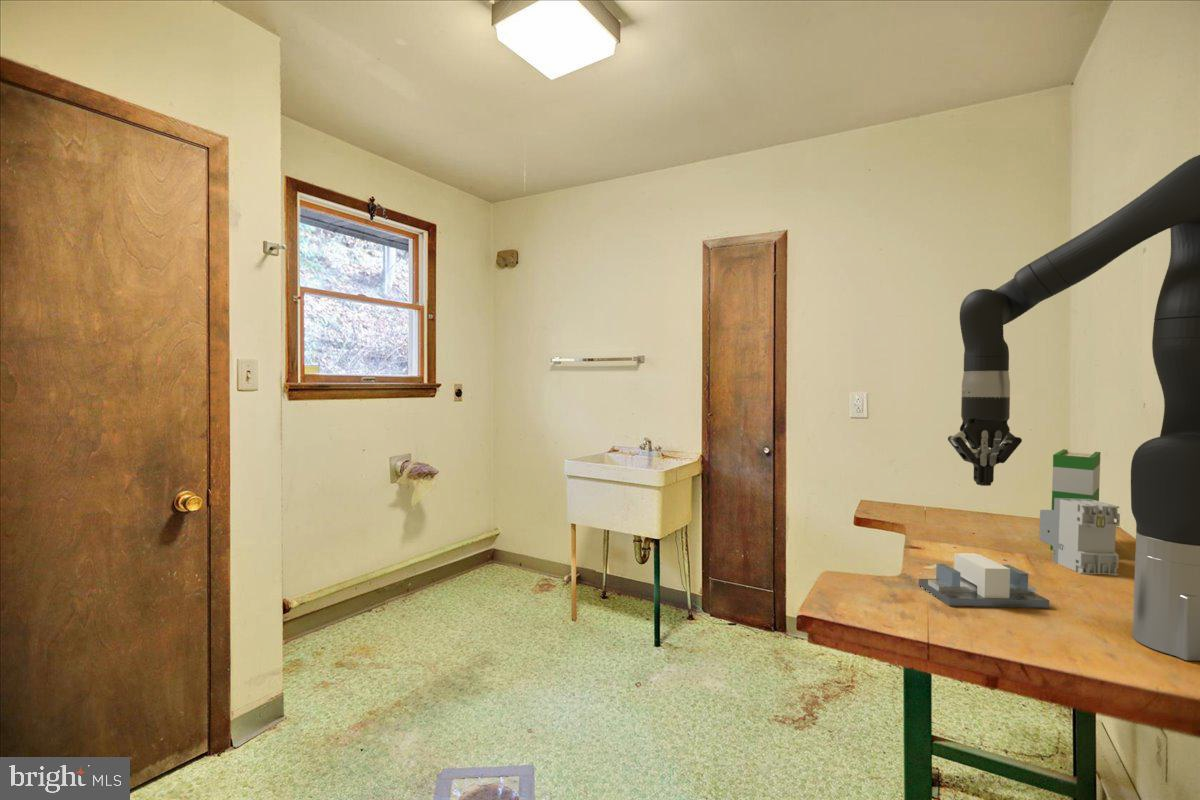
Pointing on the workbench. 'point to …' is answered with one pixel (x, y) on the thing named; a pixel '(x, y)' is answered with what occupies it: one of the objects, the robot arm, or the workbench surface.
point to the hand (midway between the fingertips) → (983, 484)
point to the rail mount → (966, 594)
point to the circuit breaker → (1082, 534)
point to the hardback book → (1075, 476)
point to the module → (983, 574)
